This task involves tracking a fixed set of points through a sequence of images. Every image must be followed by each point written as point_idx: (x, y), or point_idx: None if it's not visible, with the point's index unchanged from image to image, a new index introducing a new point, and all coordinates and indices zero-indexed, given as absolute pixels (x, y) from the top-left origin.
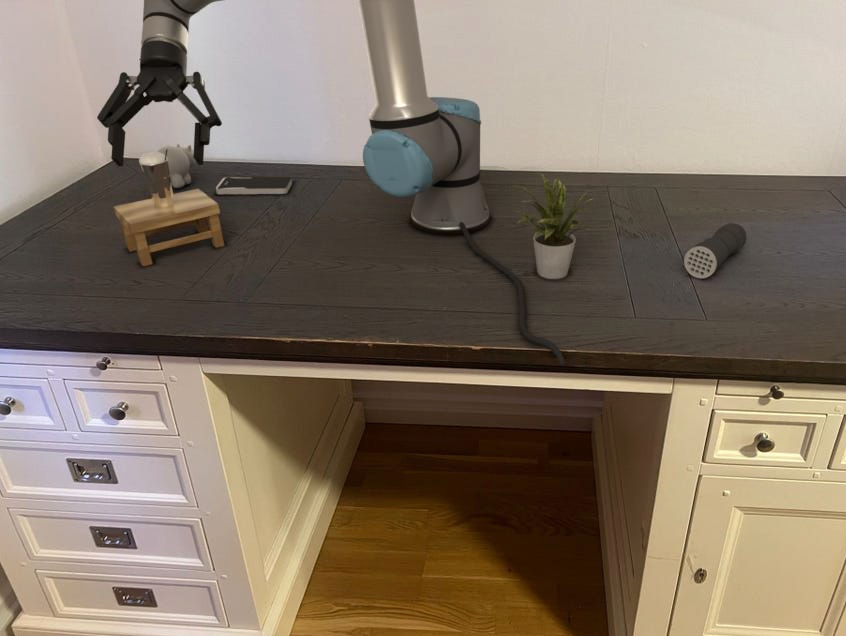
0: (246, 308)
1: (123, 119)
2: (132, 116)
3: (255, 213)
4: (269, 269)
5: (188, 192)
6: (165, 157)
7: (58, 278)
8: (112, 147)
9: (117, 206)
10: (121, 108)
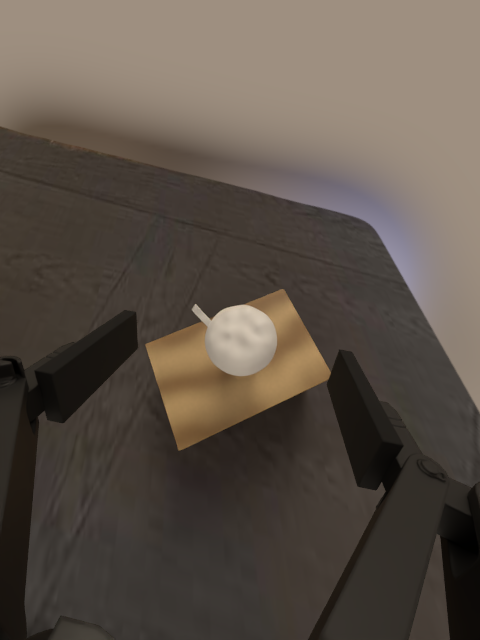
0: (158, 206)
1: (380, 506)
2: (349, 560)
3: (106, 506)
4: (123, 278)
5: (199, 428)
6: (206, 318)
7: (367, 310)
8: (362, 372)
9: (325, 375)
10: (416, 540)
